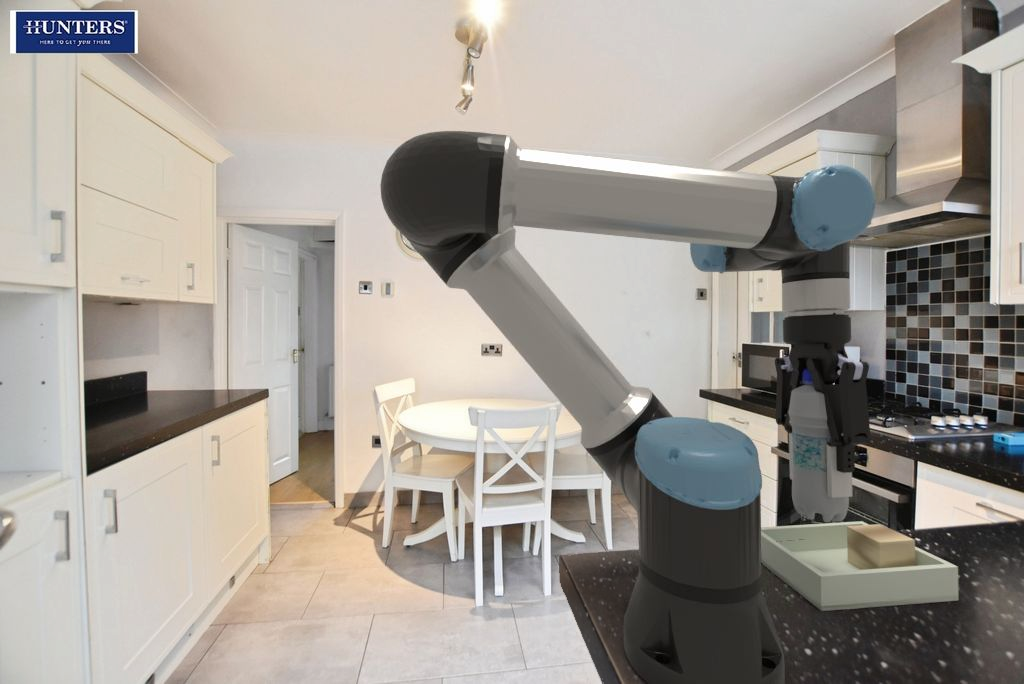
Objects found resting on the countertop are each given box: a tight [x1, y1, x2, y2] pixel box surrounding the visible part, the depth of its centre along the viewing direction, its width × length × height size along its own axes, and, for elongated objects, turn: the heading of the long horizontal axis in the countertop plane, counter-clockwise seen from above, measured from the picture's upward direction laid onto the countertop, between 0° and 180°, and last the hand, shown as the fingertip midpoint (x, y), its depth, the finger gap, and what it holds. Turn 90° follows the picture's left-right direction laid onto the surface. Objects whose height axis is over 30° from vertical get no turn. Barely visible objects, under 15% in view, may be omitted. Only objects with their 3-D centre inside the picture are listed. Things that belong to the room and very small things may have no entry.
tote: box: [761, 520, 959, 612], centre depth 61 cm, size 18×14×4 cm
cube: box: [847, 523, 916, 570], centre depth 61 cm, size 5×5×5 cm
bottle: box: [788, 368, 850, 523], centre depth 60 cm, size 7×7×20 cm
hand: (819, 486), depth 60 cm, fingers closed on bottle, 6 cm apart
